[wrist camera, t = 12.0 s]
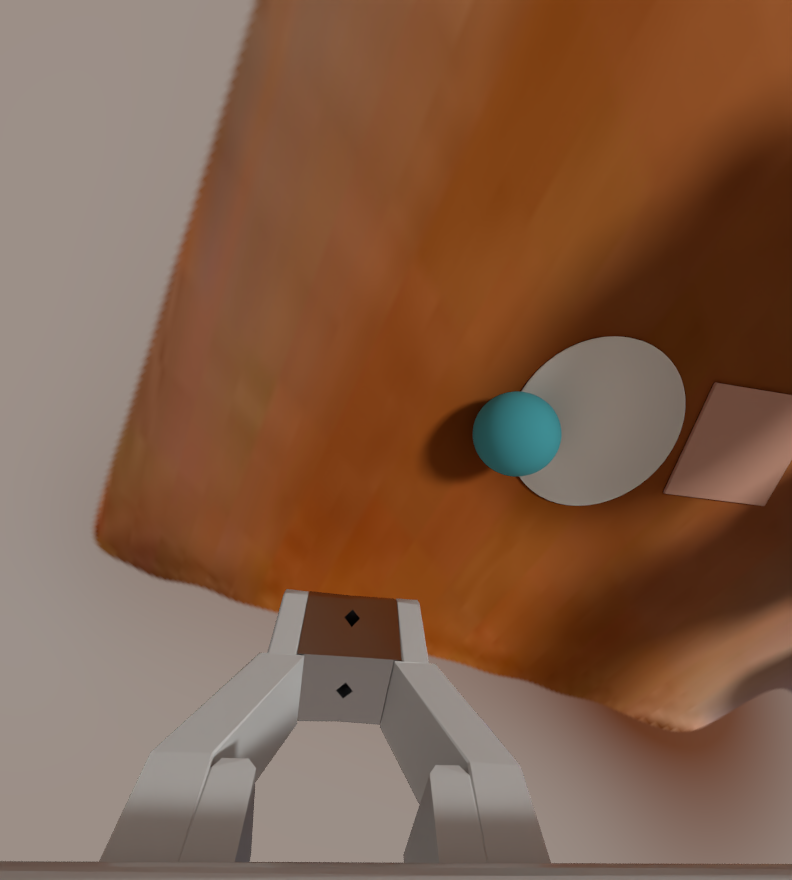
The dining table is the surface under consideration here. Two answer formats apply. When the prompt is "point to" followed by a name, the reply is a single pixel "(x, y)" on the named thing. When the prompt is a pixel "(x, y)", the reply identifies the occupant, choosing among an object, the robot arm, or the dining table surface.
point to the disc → (607, 418)
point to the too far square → (736, 447)
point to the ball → (517, 433)
